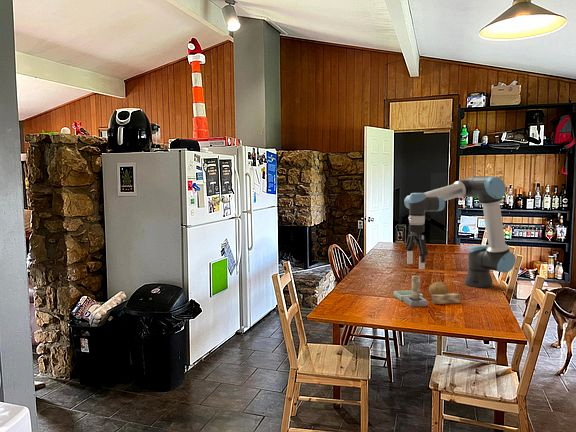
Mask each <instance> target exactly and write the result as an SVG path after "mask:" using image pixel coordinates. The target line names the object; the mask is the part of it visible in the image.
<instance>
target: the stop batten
mask: <svg viewBox="0 0 576 432" xmlns="http://www.w3.org/2000/svg"><path fill="white" fill-rule="evenodd" d="M431 303H432V304H434V305H438V304H439V305H441V304H459V303H461V294H460V293H457V292H454V293H448V294H434V295H432V296H431Z"/></svg>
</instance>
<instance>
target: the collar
mask: <svg viewBox="0 0 576 432" xmlns="http://www.w3.org/2000/svg"><path fill="white" fill-rule="evenodd" d="M402 302H403V303H404V304H406V305H408V307H426V306H427V307H428V306H429V301H428V300H427V299H426V298H424V297H423V298H422V297H421V296H420V300H414V301H413V300H411V296H410V297H403V301H402Z"/></svg>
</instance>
